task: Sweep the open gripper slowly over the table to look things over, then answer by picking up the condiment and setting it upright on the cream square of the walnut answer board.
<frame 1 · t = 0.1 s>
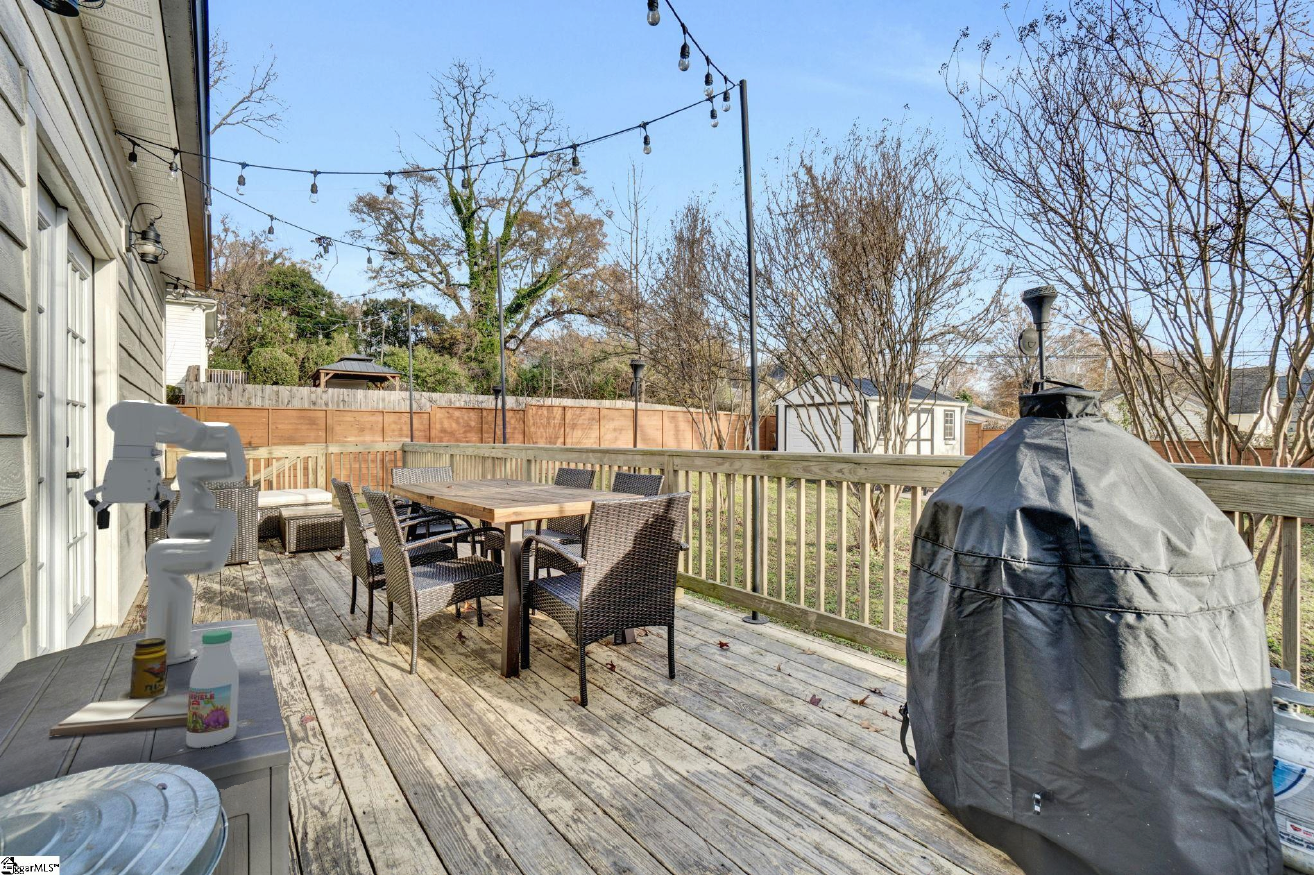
hand: (129, 528, 142), 37 cm above the table, tool pointing down, fingers open, 9 cm apart
condiment: (142, 696, 138), on the table
milk bottle: (211, 741, 116), on the table
answer board: (144, 716, 127), on the table
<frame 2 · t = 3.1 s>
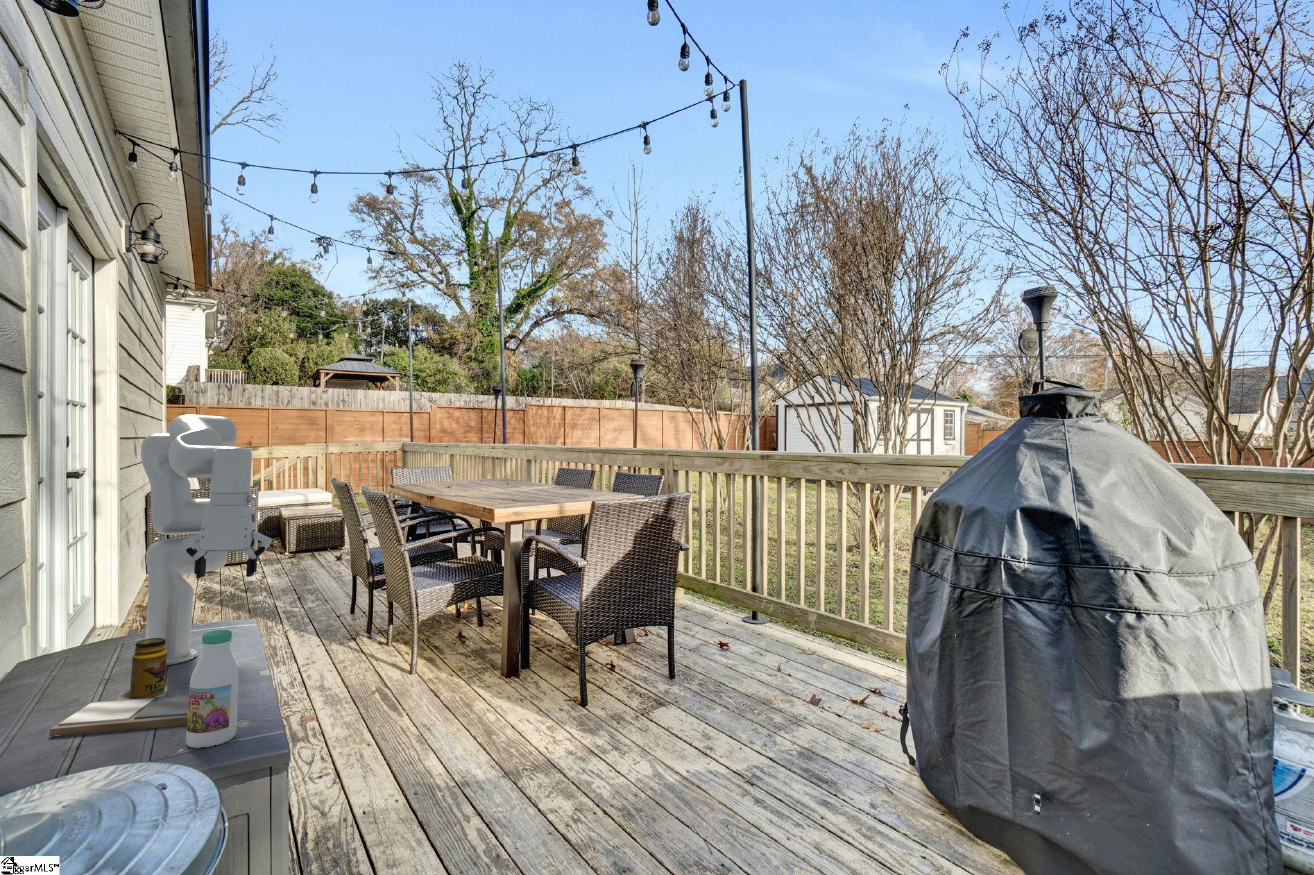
hand: (225, 576, 140), 26 cm above the table, tool pointing down, fingers open, 9 cm apart
nothing on the table moved.
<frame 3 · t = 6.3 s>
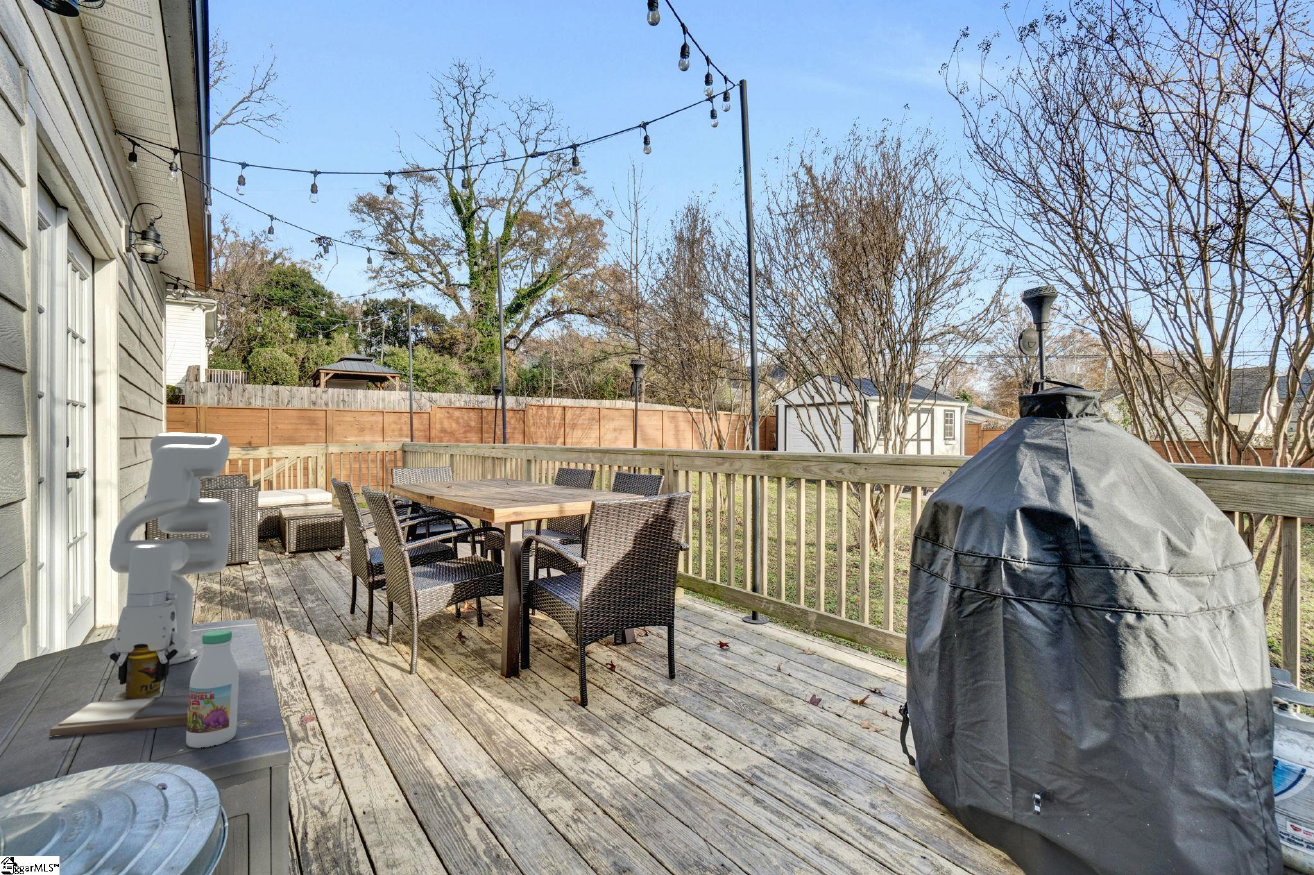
hand: (143, 680, 138), 3 cm above the table, tool pointing down, fingers closed on condiment, 6 cm apart
condiment: (137, 696, 138), on the table, touching gripper
everything else where it was.
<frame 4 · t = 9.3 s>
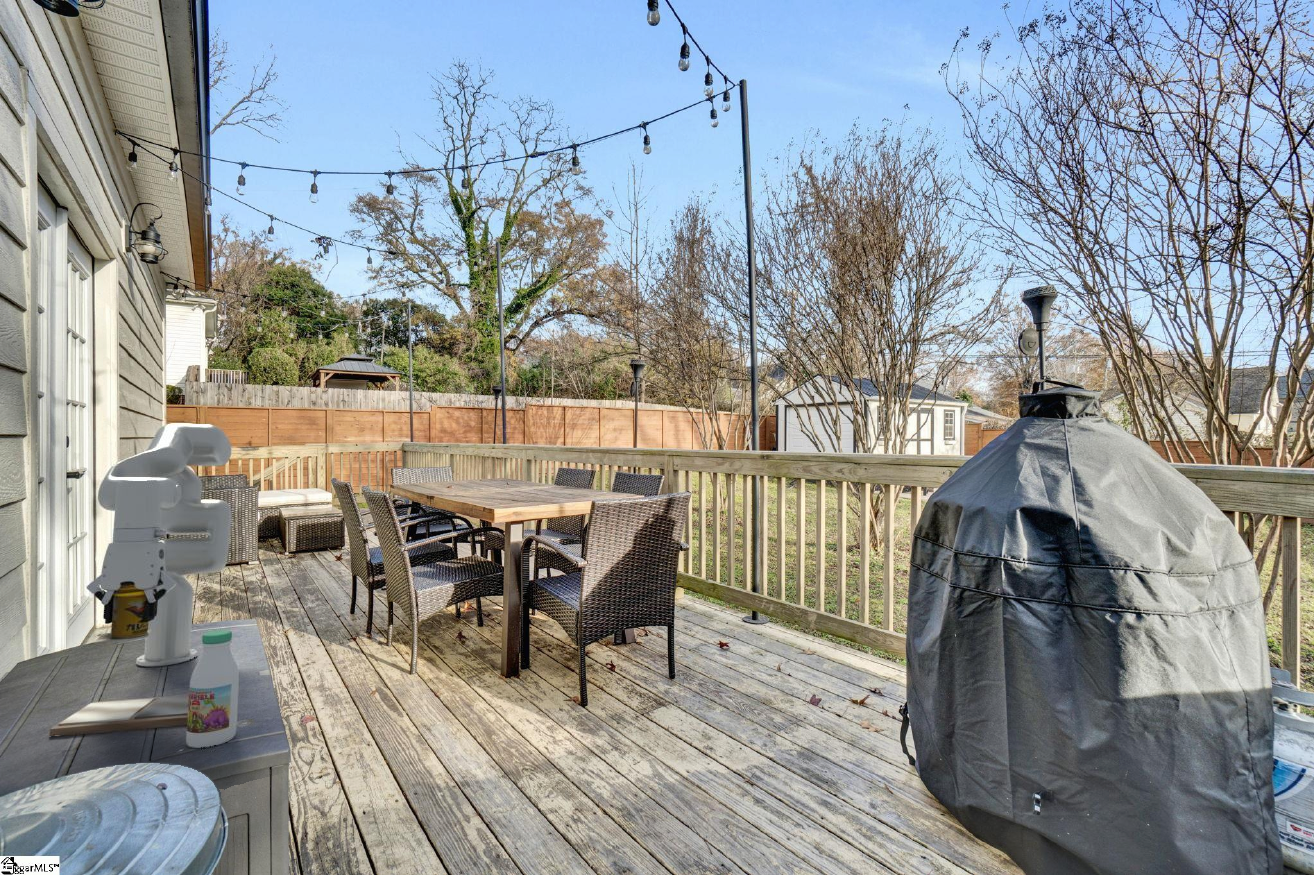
hand: (130, 620, 132), 18 cm above the table, tool pointing down, fingers closed on condiment, 6 cm apart
condiment: (124, 637, 131), point 15 cm above the table, touching gripper
everything else where it was.
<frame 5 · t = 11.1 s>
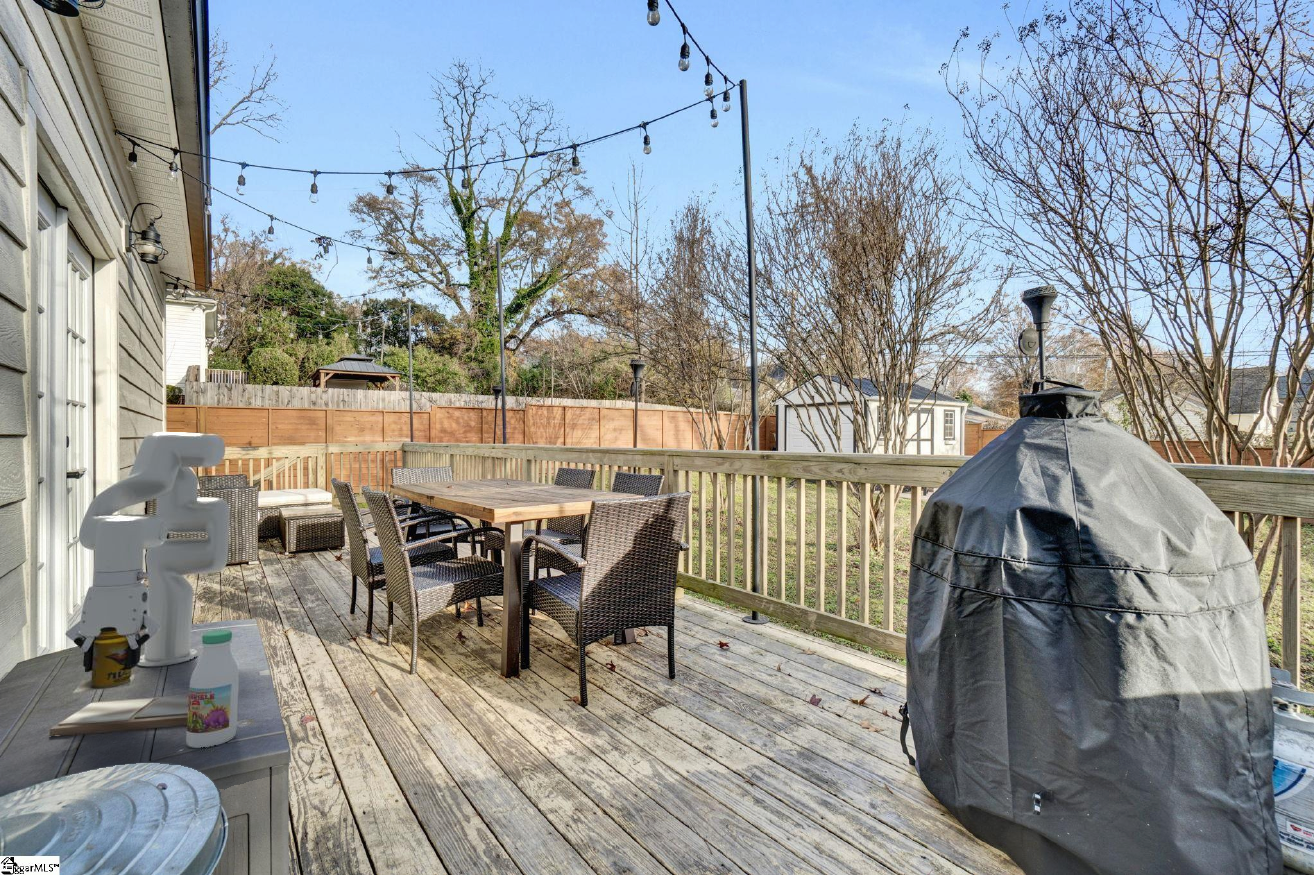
hand: (111, 667, 125), 10 cm above the table, tool pointing down, fingers closed on condiment, 6 cm apart
condiment: (105, 685, 125), point 7 cm above the table, touching gripper
everything else where it was.
when the fingers open (6 cm above the table, at t = 12.4 s): condiment stays where it is, resting on answer board.
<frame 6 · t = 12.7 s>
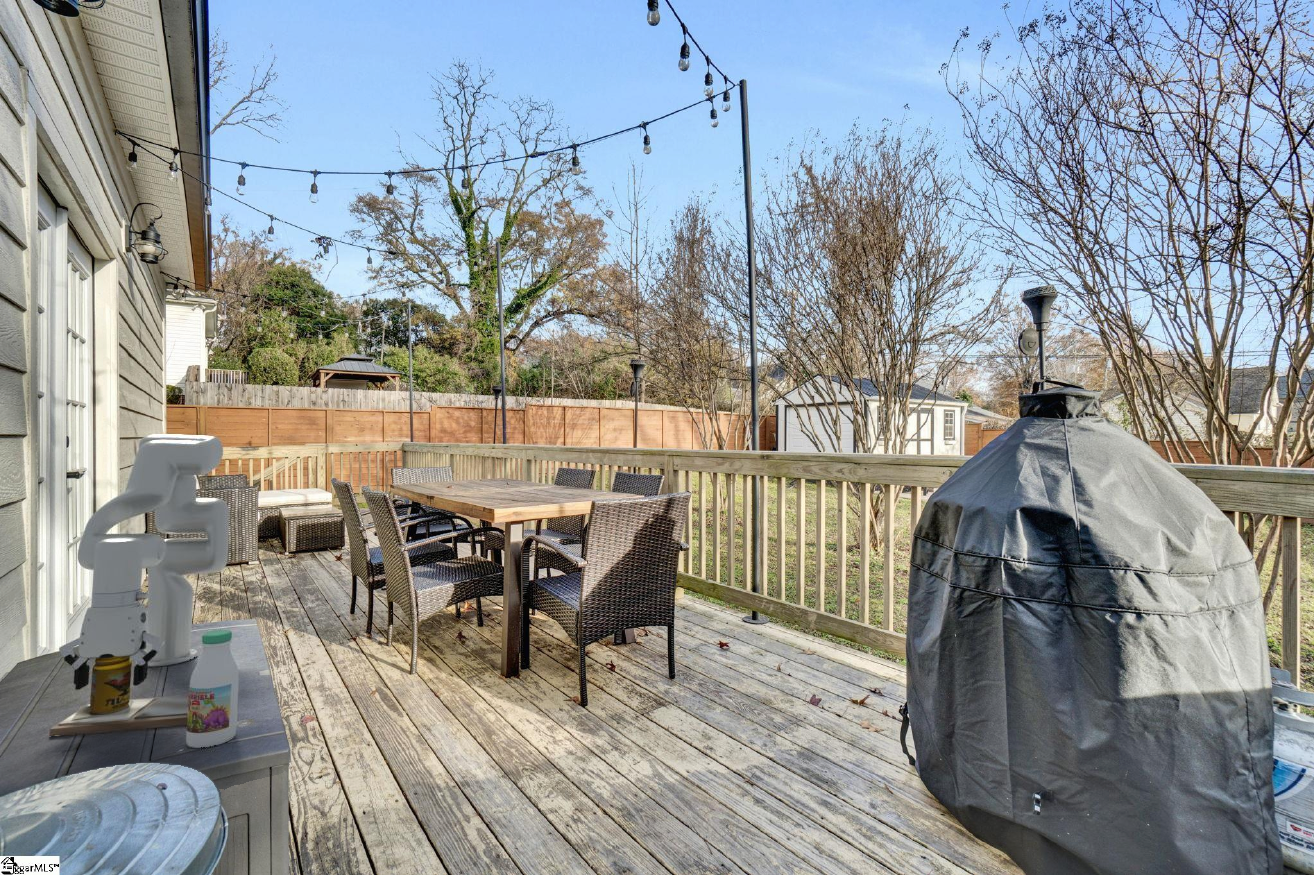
hand: (110, 685, 125), 7 cm above the table, tool pointing down, fingers open, 9 cm apart
condiment: (103, 711, 125), point 2 cm above the table, touching answer board
everything else where it was.
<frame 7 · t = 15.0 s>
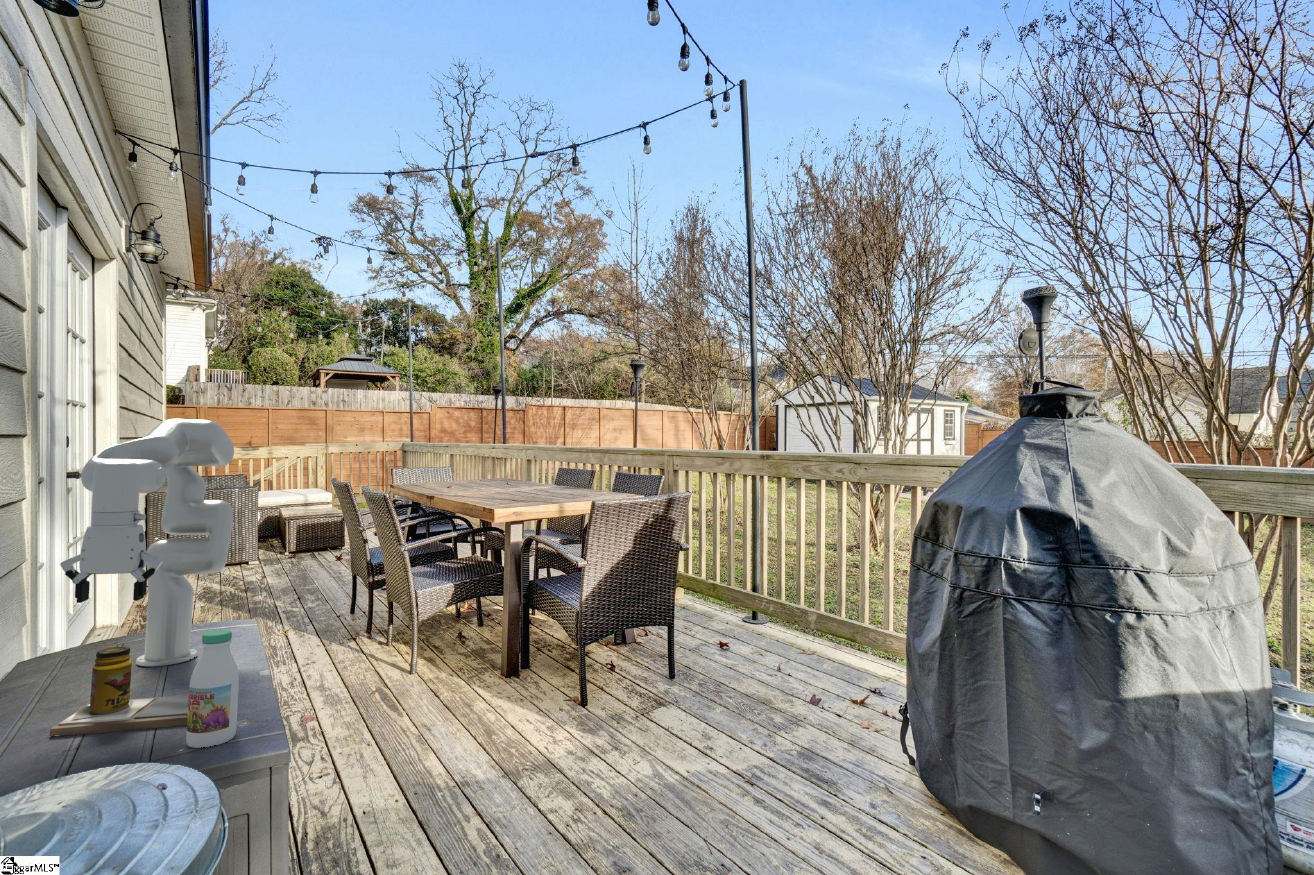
hand: (110, 600, 131), 23 cm above the table, tool pointing down, fingers open, 9 cm apart
nothing on the table moved.
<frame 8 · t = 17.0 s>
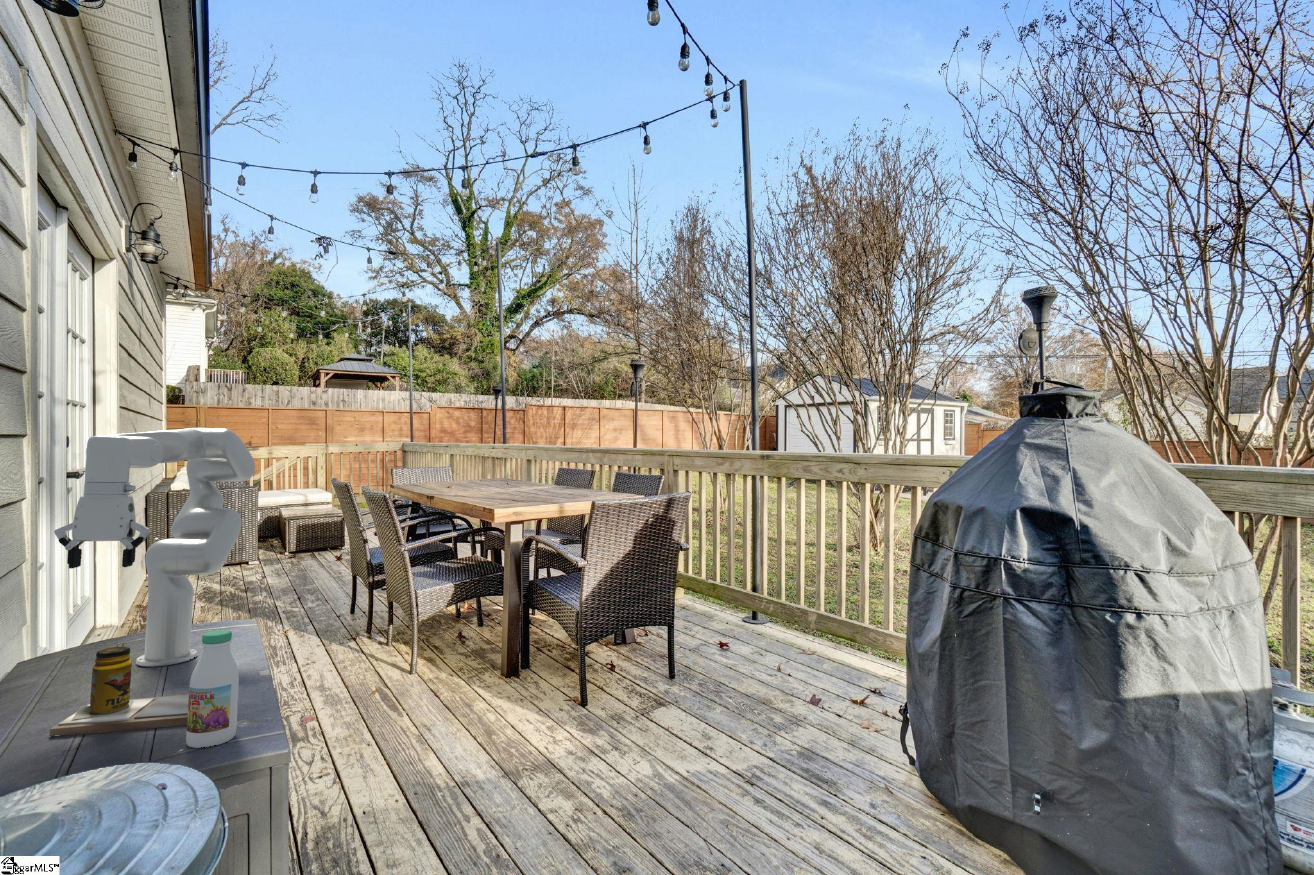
hand: (101, 566, 139), 28 cm above the table, tool pointing down, fingers open, 9 cm apart
nothing on the table moved.
at the end: condiment inside the target area on the answer board (1.0 cm from its centre), point 1.6 cm above the answer board's base; condiment tilted 0°; the gripper is holding nothing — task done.
